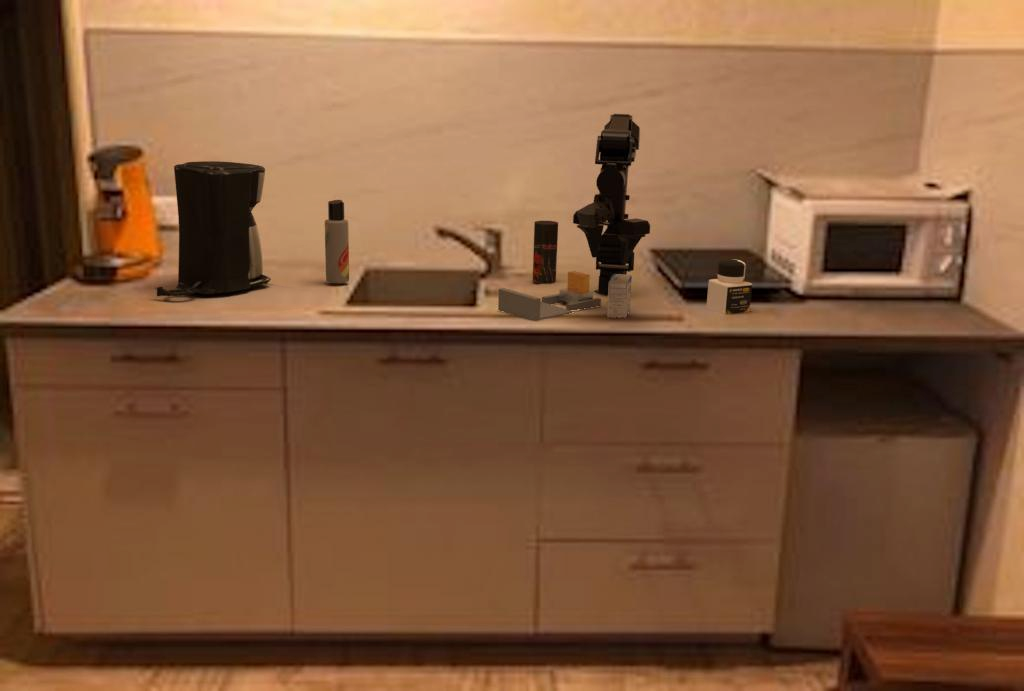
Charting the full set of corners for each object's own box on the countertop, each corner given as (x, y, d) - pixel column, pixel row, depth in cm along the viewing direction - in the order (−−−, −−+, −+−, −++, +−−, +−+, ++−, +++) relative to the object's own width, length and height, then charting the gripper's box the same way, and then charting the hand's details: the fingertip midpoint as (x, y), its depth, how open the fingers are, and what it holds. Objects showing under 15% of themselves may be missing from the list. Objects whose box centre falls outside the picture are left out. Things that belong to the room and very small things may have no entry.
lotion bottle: (354, 280, 253) (352, 200, 247) (338, 284, 248) (336, 202, 243) (336, 277, 256) (335, 198, 250) (321, 281, 251) (319, 200, 246)
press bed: (568, 298, 242) (569, 276, 240) (605, 308, 233) (606, 286, 232) (498, 311, 228) (498, 288, 226) (534, 322, 219) (535, 299, 217)
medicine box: (626, 320, 223) (629, 282, 221) (606, 319, 224) (608, 280, 222) (629, 312, 231) (632, 274, 228) (610, 310, 232) (612, 273, 229)
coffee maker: (281, 278, 254) (276, 160, 246) (230, 304, 227) (224, 172, 219) (207, 272, 257) (201, 156, 249) (150, 297, 231) (140, 168, 223)
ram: (574, 296, 238) (575, 270, 237) (592, 301, 234) (594, 274, 232) (559, 299, 235) (560, 272, 234) (577, 304, 231) (578, 277, 229)
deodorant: (558, 283, 257) (561, 224, 253) (535, 283, 255) (537, 224, 251) (552, 278, 262) (554, 220, 258) (529, 278, 261) (531, 220, 257)
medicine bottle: (725, 316, 229) (730, 264, 226) (705, 309, 235) (709, 258, 232) (750, 313, 232) (755, 262, 229) (729, 306, 238) (734, 256, 235)
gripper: (556, 187, 222) (553, 257, 226) (616, 198, 208) (612, 273, 213) (593, 184, 229) (589, 252, 233) (654, 194, 215) (649, 267, 219)
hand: (608, 261), depth 224 cm, fingers open, 9 cm apart
